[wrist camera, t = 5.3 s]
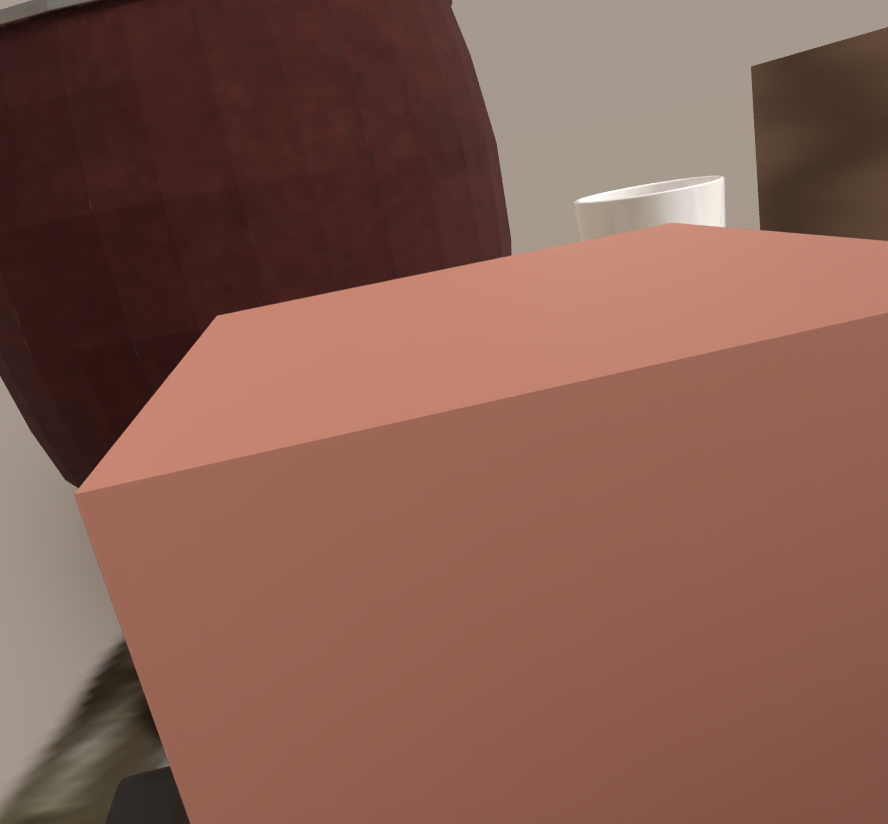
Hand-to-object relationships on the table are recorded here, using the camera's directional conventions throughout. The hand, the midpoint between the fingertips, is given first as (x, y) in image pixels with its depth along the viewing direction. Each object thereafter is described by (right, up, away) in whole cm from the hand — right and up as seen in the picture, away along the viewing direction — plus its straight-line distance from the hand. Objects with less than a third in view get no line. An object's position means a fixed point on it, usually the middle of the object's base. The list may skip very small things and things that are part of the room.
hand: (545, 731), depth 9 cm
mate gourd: (-4, -3, +16) cm, 17 cm away
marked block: (+1, -7, 0) cm, 7 cm away
